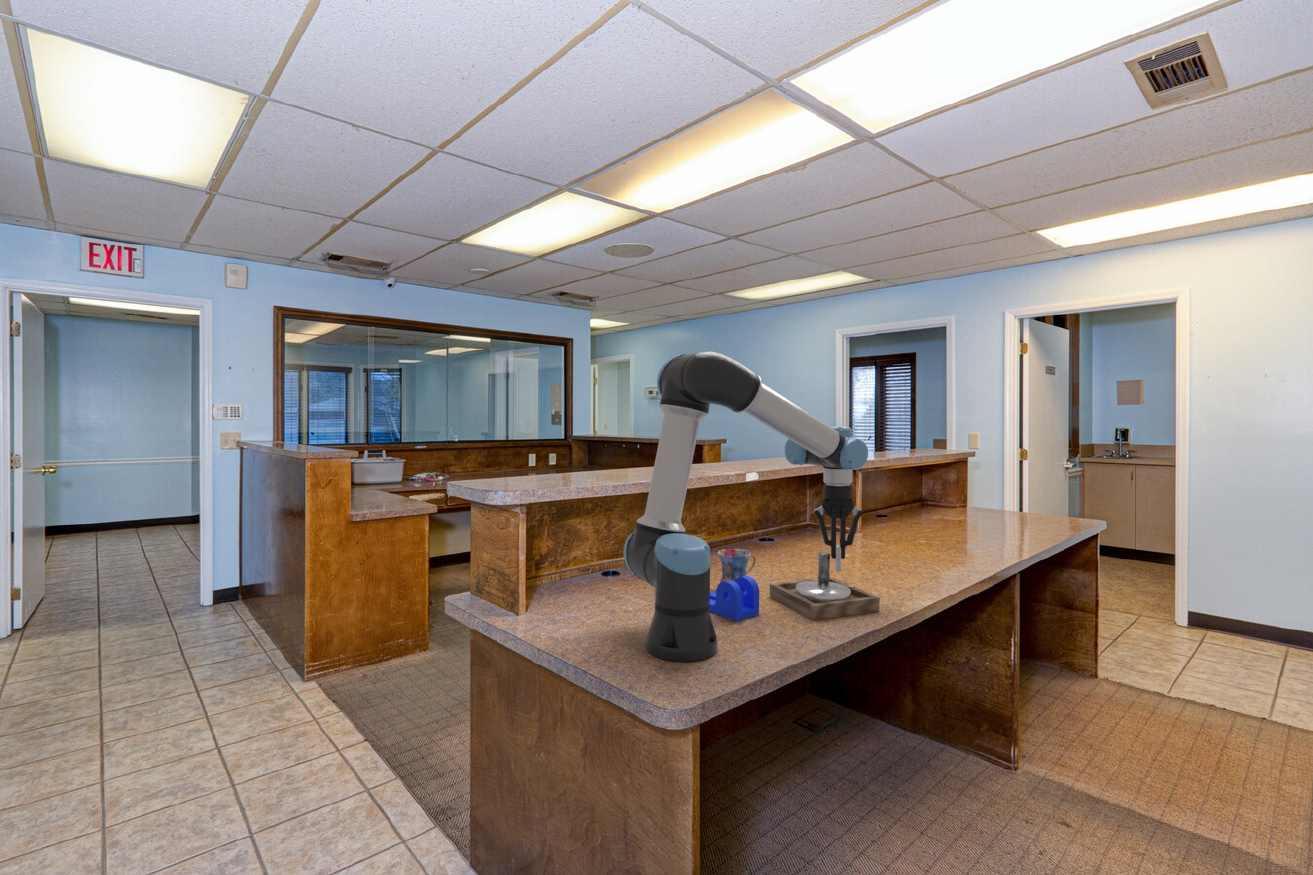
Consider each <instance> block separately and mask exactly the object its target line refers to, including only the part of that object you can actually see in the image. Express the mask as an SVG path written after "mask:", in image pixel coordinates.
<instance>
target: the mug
mask: <svg viewBox="0 0 1313 875" xmlns="http://www.w3.org/2000/svg"><path fill="white" fill-rule="evenodd" d="M717 555H718V557H719V560H720V564H721V578H720V582H719V584H720V583H721V582H724V581H728V580H732V581H734V582H735V580H736V579H737V578H740V577H744V576H747V575H748V574H749V573H750V572H751V571H752V569H753V568H754V567H755V564H756V560H757V559H756V556H755V555H752V554H751V552H750V551H748V550H745V549H737V548H726V549H720V550H718V551H717ZM750 557H752V558H753V560H752V561H753V562H752V564H751V566H750V568H749V569H747V566H748V563H749V559H750Z"/></svg>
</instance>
